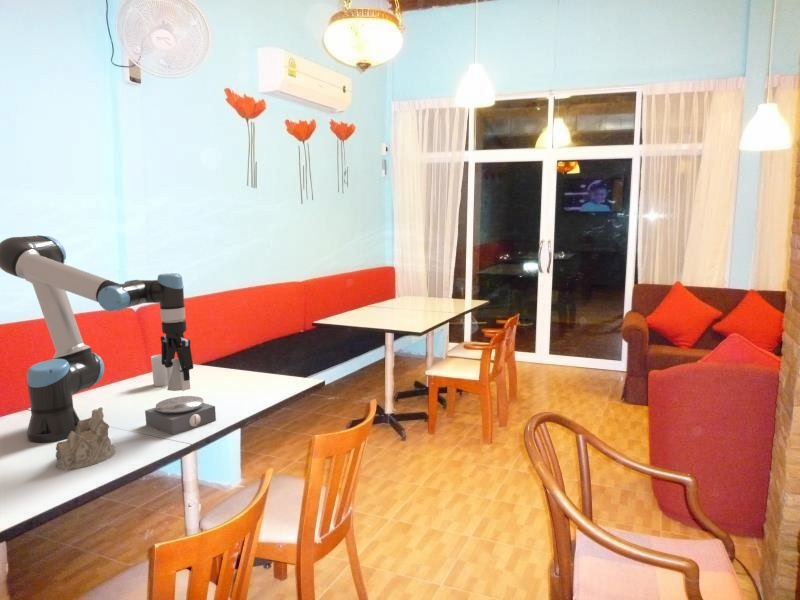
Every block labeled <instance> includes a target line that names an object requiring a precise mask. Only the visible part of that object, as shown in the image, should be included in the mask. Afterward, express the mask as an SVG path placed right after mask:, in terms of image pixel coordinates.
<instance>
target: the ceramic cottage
mask: <svg viewBox="0 0 800 600" xmlns="http://www.w3.org/2000/svg"><path fill="white" fill-rule="evenodd" d="M104 415H105V414H104V411H103V407H101V406H100V407H98V409H97V408H95V409H92V411H91V417H89V418H86V419H82V420H80V421H78V425H77V429H76V431H75V433H74V432H73V431H71V433H70V434H69V436H68V437H67V438H66V440H64V441H59V442H57V443H56V446H55V451H56V453H55V458H56V460H57V461H56V462H55V468H57V469H58V470H60V471H70V470H75V469H79V468H80V469H81V468H85V467H91V466H94V465H97V464H98V463H102V462H105V461H107V460H108V459H111V458H113V457H114V456H115V454H116V449H115V446H113V445H112V442H111V441H112V440H111V438H110V437H109V428H110V426H109V424H108V423H107V422H106V421H104V417H105V416H104Z"/></svg>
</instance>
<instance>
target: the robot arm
mask: <svg viewBox="0 0 800 600" xmlns="http://www.w3.org/2000/svg"><path fill="white" fill-rule="evenodd" d="M66 259H67V254H66V250H65V247H64V245H63V244H62V243H61V242H60V241H59V240H57V239H56V238H54V237H52V236H49V235H29V236H11V237H9V238H5V239H3V240H2V241H1V242H0V270H2V271H4V272H5V273H7V274H9V275H11V276H14V277H16V278H19V279H23V280H24V279H25V281H27V282H29V283H31V285H32V286H33V289H34V293H35V296H36V298H37V300H38V305H39V307H40V309H41V313H42V315H43V318H44V321H45V324H46V327H47V330H48V332H49V336H50V338H51V340H52V341H51V342H52V344H53V347H54V349H55V353H54V355H53V356H52V359H47V360H45V361H44V360H42V361H40V362H37V363H35V364H33V365H31V366H30V367H29V368H28V370H27V372H26V373H27V375H26V377H27V378H26V384H27V390H28V396H29V404H30V412H31V413H30V414H31V415H30V419H29V422H28V427H27V431H26V437H27V441H30V442H31V443H32V442H33V443H48V442H57V441H61V440H64V439H68V438H67V437H68V436H69V434H70V433H71V431H73V432H74V433H75V431H76V429H77V425H78V421H81V420H80V418H79V415H78V413H77V412H76V410H75V408H74V400H73V395H75V394H78V393H79V392H81V391H83V390H86V389H90V388H92V387H93V386H94V385H96V384H98V383H99V382H100V381H101V380H102V378H103V375H104V374H105V373H104V372H105V365H104V361H103V359H102V357H101V356H100V355H97V353H95V352H92V348H91V346H90V345H87V344H85V343H84V340H83V337H82V334H81V332H80V329H79V325H78V323H77V320H76V317H75V315H74V311H73V308H72V306H71V303H70V300H69V297H68V294H67V292H69V293H71V294H75V295H77V296H79V297H83V298H85V299H88V300H90V301H94V302H96V303H98V304H99V306H100V307H101V308H102V309H104V310H105V311H108V312H115V311H121V310H124V309H127V308H130V307H135V306H139V305H142V304H159V308H160V320H161V321H162V322H161V332H162V333H163V334H164V335H162V336H160V342H161V354H162V365H165V367H166V370H167V381H168V385H169V382H170V378H171V375H172V369H173V363H172V361H171V360H172V359H175V355H177V358H178V359H179V362H180V366H181V369H182V370H180V375H181V388H182V390H181V391H182V392H184V391H187V390H191V384H190V383H191V382H190V381H191V380H190V379H191V378H190V371H191V370H193V369H194V363H193V356H192V355H193V354H192V350H191V339H189V338H188V339H186V338H185V335H184V333H185V332H187V321H186V320H185V319H186V309H185V308H186V307H185V306H186V305H185V296H184V294H185V293H184V283H183V281H184V280H183V277H182V275H181V274H180V273H177V272H176V273H175V272H174V273H173V272H172V273H160V274H158V276H157V279H155V280H152V279H151V280H150V279H143V280H142V279H140V280H139V279H133V280H127V281H125V282H124V283H118V282H115V281H113V280H112V281H111V280H110V279H107V278H104V277H101V276H98V275H96V274H93V273H90V272H87V271H84V270H81V269H79V268H77V267H73V266H71V265H67V264H65V262H66V261H65V260H66ZM168 385H167V386H168Z"/></svg>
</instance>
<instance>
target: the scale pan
mask: <svg viewBox="0 0 800 600" xmlns="http://www.w3.org/2000/svg"><path fill="white" fill-rule="evenodd" d="M204 403H205V402H204V398H202V397H200V396H194V395H184V396H175V397H170V398H167V399H166V398H165V399H163V400H161V401H159V402H157V403H156V404H155V407H156V410H157V411H158V412H161V413H181V412H187V411H191V410H194V409H197V408H199V407H201V406H202V405H203V404H204Z"/></svg>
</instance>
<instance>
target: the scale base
mask: <svg viewBox="0 0 800 600" xmlns="http://www.w3.org/2000/svg"><path fill="white" fill-rule="evenodd" d="M144 413H145V426H149V427H151V428H154V429H157V430H159V431H161V432H164V433H167V434H170V435H172V436H174V435H177V434H180V433H184V432H185V431H189V430H192V429H195V428H198V427H200V426H203V425H206V424H209V423H212V422H215V421H217V417H216V406H215V405H212V404H209V403H205V402H204V404H203V405H202V406H201V407H199V408H197V409H194V410H191V411H187V412H181V413H161V412H158V411H157V410H156V406H155V407H152V408H149V409H145V410H144Z"/></svg>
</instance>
